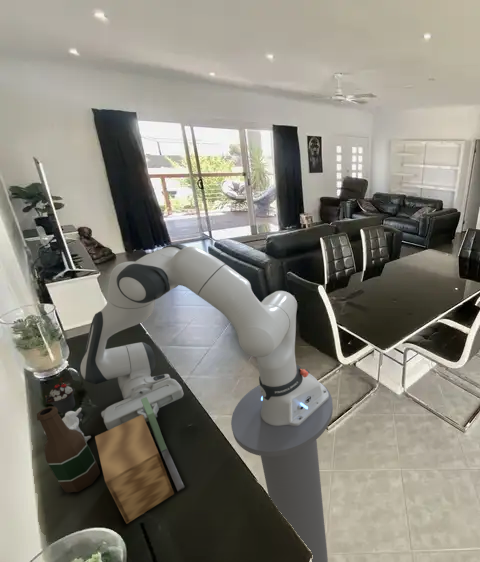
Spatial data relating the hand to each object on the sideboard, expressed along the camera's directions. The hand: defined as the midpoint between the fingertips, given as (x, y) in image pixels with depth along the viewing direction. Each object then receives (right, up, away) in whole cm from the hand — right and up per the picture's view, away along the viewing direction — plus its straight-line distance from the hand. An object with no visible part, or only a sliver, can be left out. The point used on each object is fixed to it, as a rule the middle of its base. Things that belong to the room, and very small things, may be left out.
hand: (151, 417), depth 95 cm
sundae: (-31, -4, +8) cm, 32 cm away
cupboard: (+4, -11, -8) cm, 14 cm away
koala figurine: (-21, -8, -1) cm, 22 cm away
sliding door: (+3, -7, 0) cm, 7 cm away
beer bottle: (-11, -12, -10) cm, 19 cm away
